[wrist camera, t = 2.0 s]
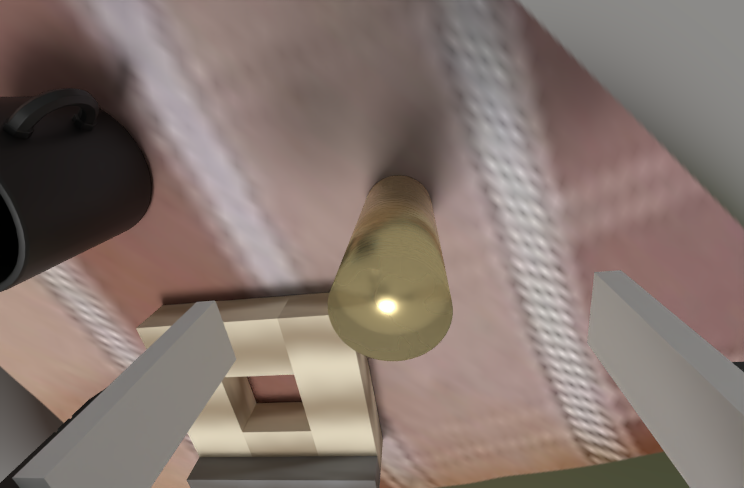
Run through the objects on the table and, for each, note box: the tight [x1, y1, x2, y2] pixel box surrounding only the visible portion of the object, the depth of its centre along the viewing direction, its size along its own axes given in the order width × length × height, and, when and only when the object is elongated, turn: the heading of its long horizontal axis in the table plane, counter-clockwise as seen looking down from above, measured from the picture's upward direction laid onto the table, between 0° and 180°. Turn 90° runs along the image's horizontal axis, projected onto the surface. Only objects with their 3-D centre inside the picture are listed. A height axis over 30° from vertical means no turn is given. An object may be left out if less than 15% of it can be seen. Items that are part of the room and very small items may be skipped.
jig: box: [136, 292, 383, 488], centre depth 28 cm, size 16×16×5 cm
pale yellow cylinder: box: [328, 175, 453, 361], centre depth 18 cm, size 4×4×12 cm
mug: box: [0, 88, 151, 292], centre depth 20 cm, size 9×12×9 cm
